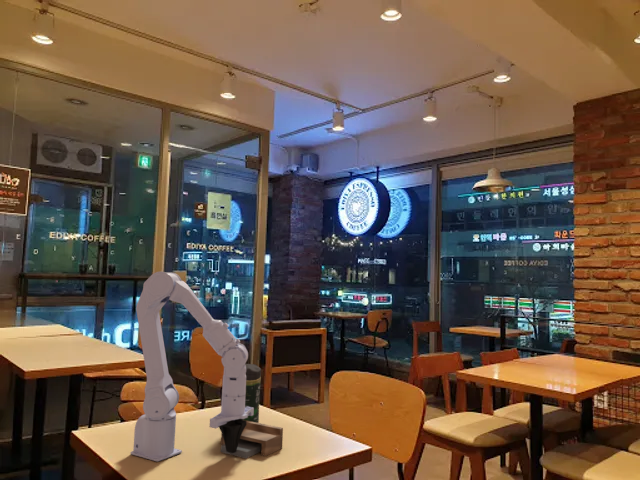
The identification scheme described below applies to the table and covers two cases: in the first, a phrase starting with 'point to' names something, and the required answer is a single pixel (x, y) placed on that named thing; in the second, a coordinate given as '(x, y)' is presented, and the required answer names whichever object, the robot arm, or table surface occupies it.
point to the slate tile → (244, 448)
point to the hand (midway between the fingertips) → (231, 451)
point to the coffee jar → (252, 390)
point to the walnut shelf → (262, 436)
